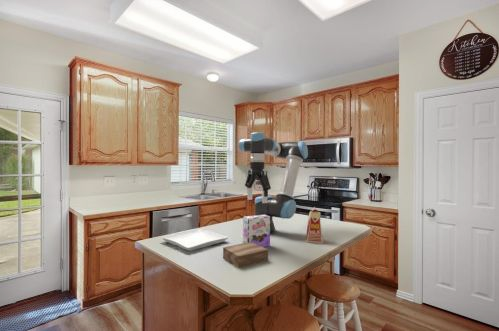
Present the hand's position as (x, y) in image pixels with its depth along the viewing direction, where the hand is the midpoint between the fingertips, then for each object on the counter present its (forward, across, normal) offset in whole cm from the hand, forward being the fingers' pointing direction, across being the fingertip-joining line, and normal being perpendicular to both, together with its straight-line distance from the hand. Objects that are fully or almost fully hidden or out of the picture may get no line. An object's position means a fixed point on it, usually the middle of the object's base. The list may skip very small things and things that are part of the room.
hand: (257, 201), depth 142 cm
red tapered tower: (+25, +9, +35) cm, 44 cm away
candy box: (+25, 0, 0) cm, 25 cm away
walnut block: (+24, +12, -15) cm, 31 cm away
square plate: (+25, -25, -25) cm, 43 cm away
